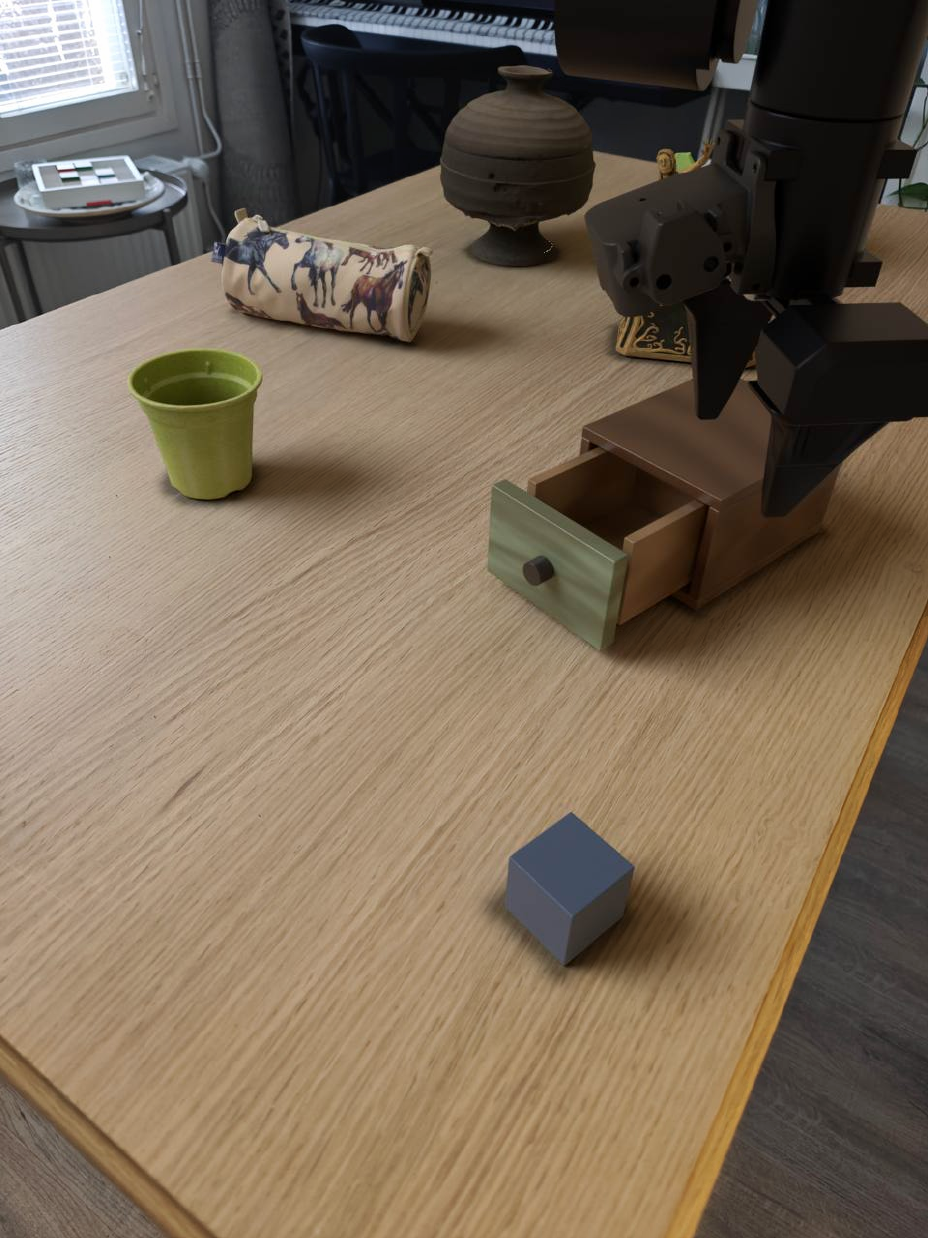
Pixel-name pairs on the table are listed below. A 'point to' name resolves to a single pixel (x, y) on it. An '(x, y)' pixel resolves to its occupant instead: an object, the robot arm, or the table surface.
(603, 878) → the block
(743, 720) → the table surface
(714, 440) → the cabinet
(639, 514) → the drawer
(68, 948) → the table surface
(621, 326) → the decorative box
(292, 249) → the pencil case
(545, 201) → the pot
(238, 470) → the plant pot
